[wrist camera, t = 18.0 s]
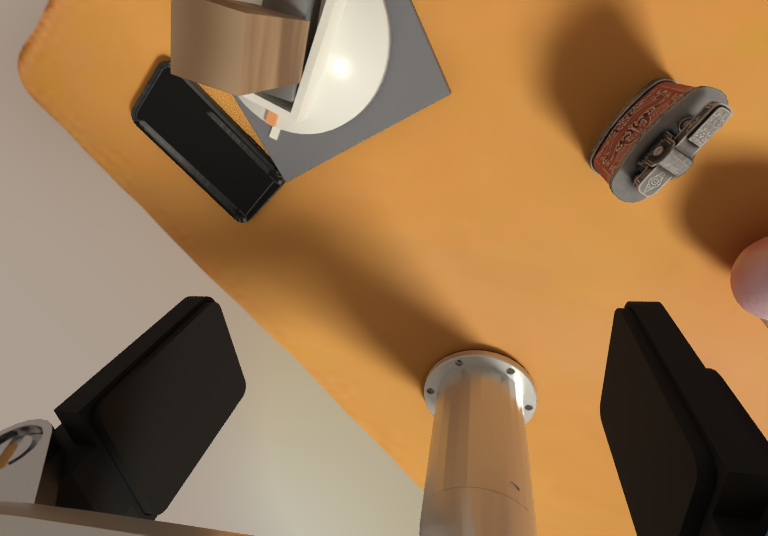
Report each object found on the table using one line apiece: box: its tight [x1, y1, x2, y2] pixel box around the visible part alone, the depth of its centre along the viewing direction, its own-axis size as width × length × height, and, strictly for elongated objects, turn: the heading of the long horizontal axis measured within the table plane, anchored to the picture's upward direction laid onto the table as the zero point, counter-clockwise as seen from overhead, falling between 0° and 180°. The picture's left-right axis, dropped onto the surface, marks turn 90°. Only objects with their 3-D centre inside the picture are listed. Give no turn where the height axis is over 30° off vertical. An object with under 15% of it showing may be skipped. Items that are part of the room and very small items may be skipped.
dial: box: [236, 0, 392, 134], centre depth 32 cm, size 14×14×4 cm
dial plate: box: [232, 0, 451, 182], centre depth 35 cm, size 18×17×2 cm
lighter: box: [588, 78, 733, 203], centre depth 29 cm, size 8×3×10 cm, turn 151°
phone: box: [131, 61, 285, 223], centre depth 42 cm, size 8×1×15 cm
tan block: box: [171, 0, 321, 102], centre depth 27 cm, size 4×7×12 cm, turn 165°
